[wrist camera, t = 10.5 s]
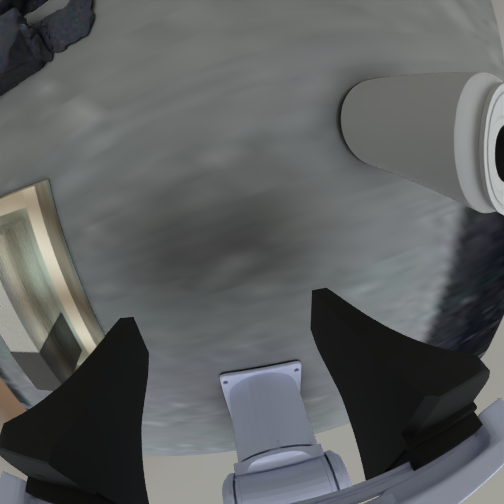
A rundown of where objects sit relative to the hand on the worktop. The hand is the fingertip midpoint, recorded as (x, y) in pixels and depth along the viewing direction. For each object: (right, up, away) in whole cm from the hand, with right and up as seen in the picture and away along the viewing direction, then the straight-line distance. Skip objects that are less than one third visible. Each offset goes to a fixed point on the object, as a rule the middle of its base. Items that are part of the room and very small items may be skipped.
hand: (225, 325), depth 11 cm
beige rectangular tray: (-17, -1, +8) cm, 19 cm away
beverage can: (+10, +12, +7) cm, 17 cm away
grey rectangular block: (-17, -1, +7) cm, 18 cm away
